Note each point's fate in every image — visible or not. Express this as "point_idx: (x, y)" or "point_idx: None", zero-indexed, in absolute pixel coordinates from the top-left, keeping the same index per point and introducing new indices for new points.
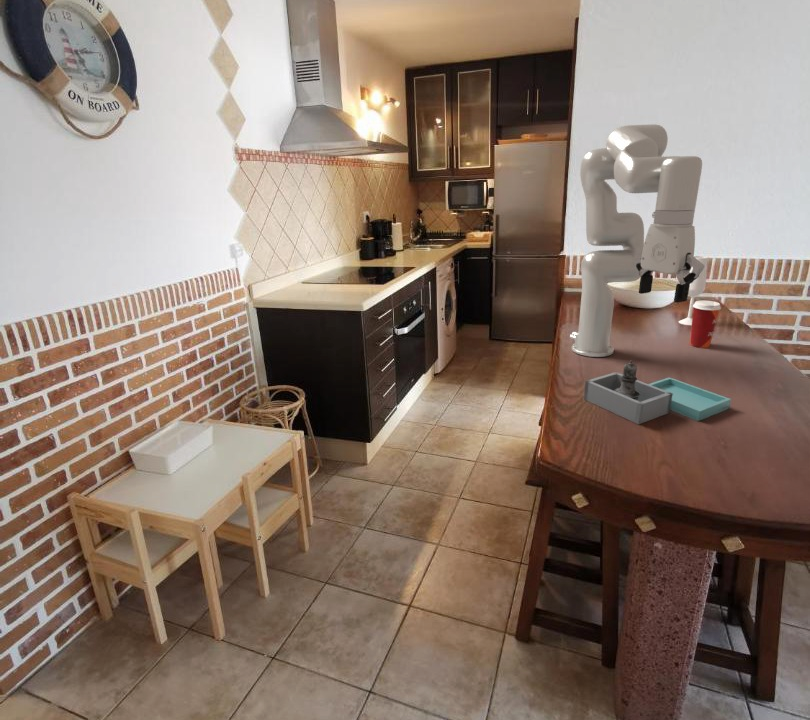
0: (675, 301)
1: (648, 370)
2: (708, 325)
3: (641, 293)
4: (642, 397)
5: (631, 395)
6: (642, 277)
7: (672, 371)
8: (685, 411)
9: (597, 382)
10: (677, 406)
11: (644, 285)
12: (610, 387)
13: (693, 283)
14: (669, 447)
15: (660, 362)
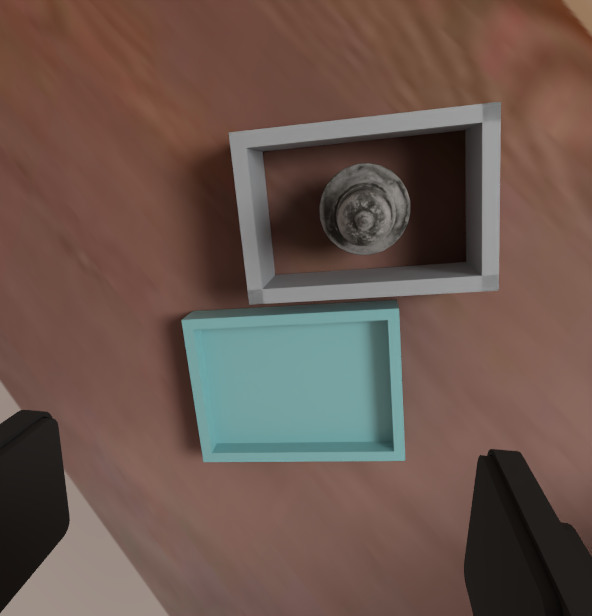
0: (33, 412)
1: None
2: None
3: (486, 459)
4: (350, 273)
5: (331, 197)
6: (567, 609)
7: None
8: (227, 312)
9: (479, 161)
10: (252, 313)
11: (499, 543)
12: (471, 241)
13: None
14: (111, 109)
15: None
